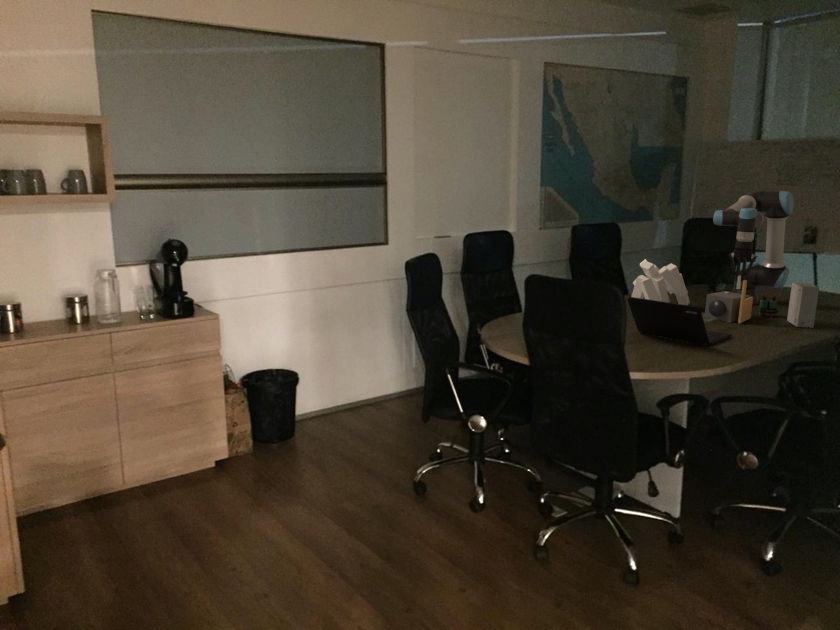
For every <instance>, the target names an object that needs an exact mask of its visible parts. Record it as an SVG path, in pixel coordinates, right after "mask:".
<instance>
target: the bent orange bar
mask: <svg viewBox="0 0 840 630" xmlns="http://www.w3.org/2000/svg"><path fill="white" fill-rule="evenodd" d="M746 286H747V280H744V281H743V285H742V293H741V302H740V310H739V319H738V321H737V323H738V324H742V323H744V322H746V321H748V320H750V319H751V318H752V311H753V310H752V309H753V305H752V303H753V297H749V298H747V299H745V294H746Z"/></svg>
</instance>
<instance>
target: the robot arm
mask: <svg viewBox="0 0 840 630" xmlns="http://www.w3.org/2000/svg"><path fill="white" fill-rule="evenodd" d="M794 201H795V200H794V196H793V193H791V192H790V191H789V190H788V191H783V190H761V189H760V190H754V191H751V192H748V193H746V194H744V195H742V196H740V197H739V198H738V200H737V201H736V202H735V203H733V204H732V205H731V206H729V207H727V208H726V209H725V210H723V209H721V210H719V209H718V210H715V212H714V214H713V217H712V218H713V219H712V220H713V224H714V225H716V226H720V227H722V226H725V227H727V226H728V227H737V232H736V237H735V238H736V241H735V246H734V250H733V252H731V253H729V254H728V255H727V256H728V257H729V260H730V268H731V273H732V274H733V275H735V276H734V283H733V289H732V291H731V293H738V294H741V293H742V285H743V281H744V280H747V286H746V294H745V295H750V297H753V303H752V306H753V305H754V306H755V305H758V304H759V296H758V291H757V287H765V288H771V289H772V288H773V289H775V288H776V289H782V288H784V287H785V285H786V284H787V281H788V279H789V274H790V268H789V267H786V265H787V264H786V262H785V261H784V249H785V237H786V236H785V234H786V232H785V231H786V221H787V219H789V217H790V215H791V214H792V213H793V211H794V207H795V202H794ZM763 213H764V215H763ZM765 219H766V220H767V222H766V224H767V225H766V239H765V240H766V241H765V243H766V245H765V259H764V261H763V262H762V263H761V264H760V262H759V261H756V260H757V259H758V255H755V254H754V253H753V247H754V246H753V245H754V242H753V241H754V237H755V231H756V230H755V229H756V228H758V227H760V226H761V225H762V224H763V223H764V220H765ZM735 257H736V258H735ZM750 258H751V260H750V261H748V260H749V259H750ZM735 259H737V260H736V265H735Z"/></svg>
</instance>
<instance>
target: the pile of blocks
mask: <svg viewBox="0 0 840 630" xmlns="http://www.w3.org/2000/svg"><path fill="white" fill-rule="evenodd" d="M639 267H640V268H641V269H642V271H643V273H644V275H643V274H640V275H638V276H637V278H635V279H634V281H633V282H632V284H633V285H634V287H633V290H632V293H631V296H630V297H634V298H641V299H648V300H655V301H662V302H668V303H671V301H670V297H669V295H672V294H675V297H676V300H677V304H682V305H689V304H690V303H691V302H690V297H689V295H688V293H689V291H688V290H687V287H686V284H685V281H684V278H683V275H682V274H683V273H680V272H679V268H678V266H677V265H675V264H673V263H669V264H667V265H666V266H665V265H664V266H663V267H662V268H659V267H658V266H657V265H656V264H654V263H652V262H649V261H648V259H646V258H644V259H643V260H642V261H641V262H640V263H639ZM668 293H669V294H668Z"/></svg>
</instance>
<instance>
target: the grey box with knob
mask: <svg viewBox="0 0 840 630" xmlns="http://www.w3.org/2000/svg"><path fill="white" fill-rule="evenodd" d="M749 297H750V295H745V299H747V298H749ZM705 298H706V299H705V307H704V309H705V310H704V318H705V317H709V318H708V319H710V318H713V319H712V320H715V319H716V321H720V320H721V321H722V322H725V321H726V322H727V323H734V322H738V319H739V310H740V302H741V294H738V293H732V291H731V292H730V291H725V290H724V291H720V292H714V293H713V292H711V293H706V297H705ZM721 321H720V322H721Z"/></svg>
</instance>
